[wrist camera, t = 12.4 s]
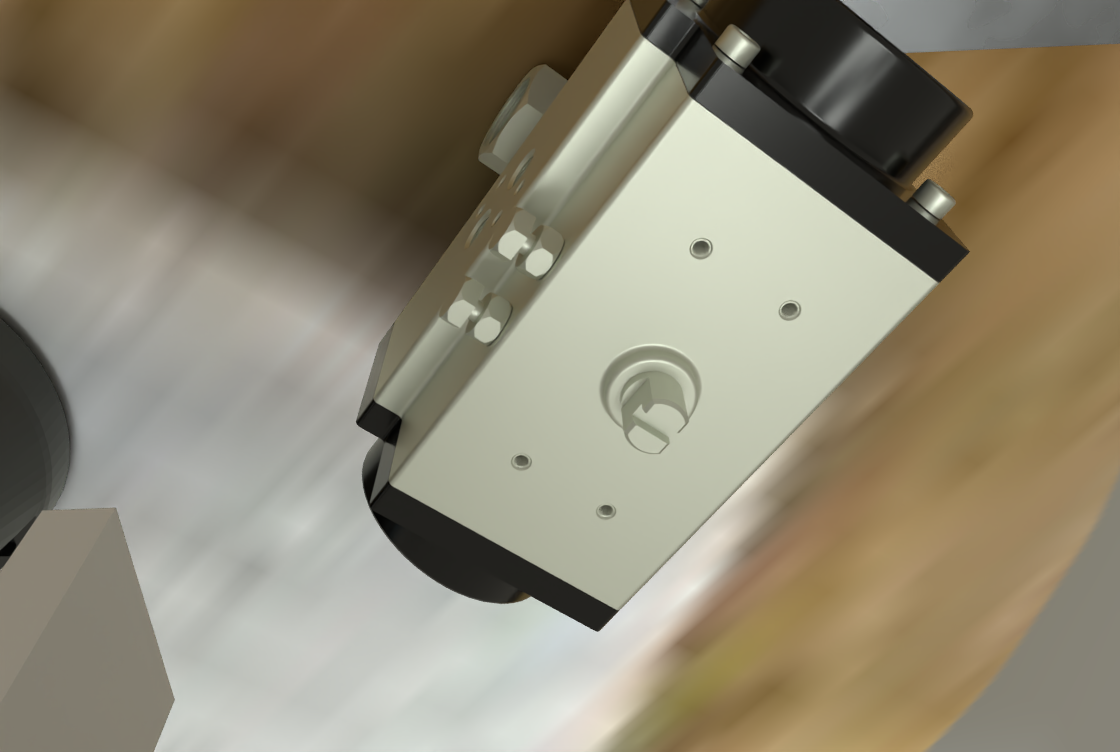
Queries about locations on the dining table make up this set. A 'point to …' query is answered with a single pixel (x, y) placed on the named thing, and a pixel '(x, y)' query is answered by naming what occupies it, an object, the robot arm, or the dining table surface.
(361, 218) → the dining table surface
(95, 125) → the dining table surface
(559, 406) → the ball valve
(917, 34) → the grey metal plate
